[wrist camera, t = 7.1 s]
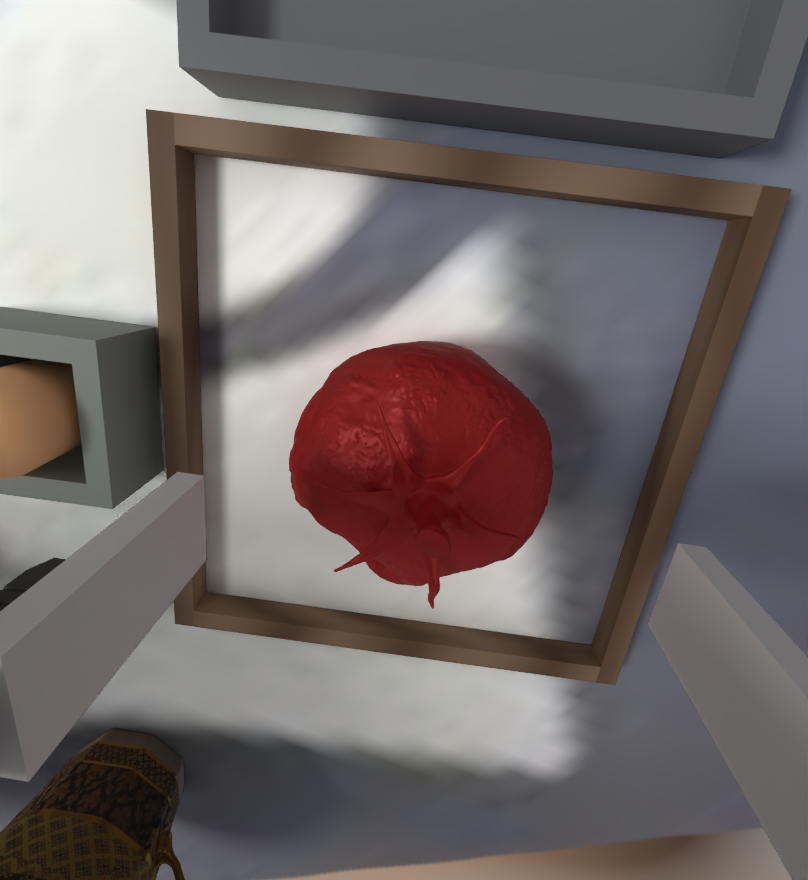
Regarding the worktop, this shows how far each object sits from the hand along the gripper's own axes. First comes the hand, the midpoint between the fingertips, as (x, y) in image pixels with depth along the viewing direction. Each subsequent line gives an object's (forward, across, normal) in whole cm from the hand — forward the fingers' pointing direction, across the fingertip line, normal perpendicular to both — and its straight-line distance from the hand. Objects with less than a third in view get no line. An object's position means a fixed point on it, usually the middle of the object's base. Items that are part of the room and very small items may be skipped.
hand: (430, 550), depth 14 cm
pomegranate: (+10, +1, 0) cm, 10 cm away
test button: (+8, +17, 0) cm, 18 cm away
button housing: (+9, +17, 0) cm, 19 cm away
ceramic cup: (+9, +15, +25) cm, 31 cm away
